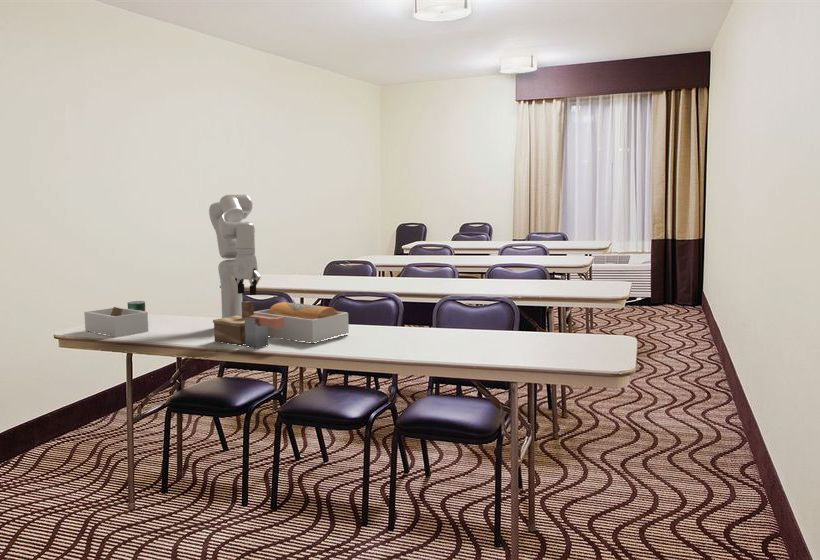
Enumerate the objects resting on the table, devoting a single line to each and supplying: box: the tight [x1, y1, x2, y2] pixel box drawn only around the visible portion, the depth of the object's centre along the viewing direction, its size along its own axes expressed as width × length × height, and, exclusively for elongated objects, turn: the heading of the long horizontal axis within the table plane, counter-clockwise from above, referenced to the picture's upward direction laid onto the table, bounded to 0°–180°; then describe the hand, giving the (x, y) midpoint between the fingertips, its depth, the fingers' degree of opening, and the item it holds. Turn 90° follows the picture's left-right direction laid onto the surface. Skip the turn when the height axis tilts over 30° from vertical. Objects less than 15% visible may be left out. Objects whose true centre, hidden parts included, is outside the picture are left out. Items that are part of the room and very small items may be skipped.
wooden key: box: [249, 315, 284, 329], centre depth 272 cm, size 4×16×4 cm, turn 55°
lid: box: [212, 300, 255, 327], centre depth 285 cm, size 15×17×8 cm
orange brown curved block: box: [268, 301, 340, 320], centre depth 298 cm, size 30×16×14 cm, turn 54°
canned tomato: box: [127, 300, 146, 312], centre depth 323 cm, size 8×8×11 cm
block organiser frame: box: [83, 306, 149, 338], centre depth 307 cm, size 16×24×9 cm, turn 55°
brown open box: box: [213, 323, 246, 346], centre depth 286 cm, size 14×16×8 cm
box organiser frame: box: [254, 308, 350, 343], centre depth 299 cm, size 23×36×10 cm, turn 55°
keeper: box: [245, 317, 269, 349], centre depth 275 cm, size 7×6×12 cm
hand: (247, 293), depth 288 cm, fingers open, 6 cm apart
